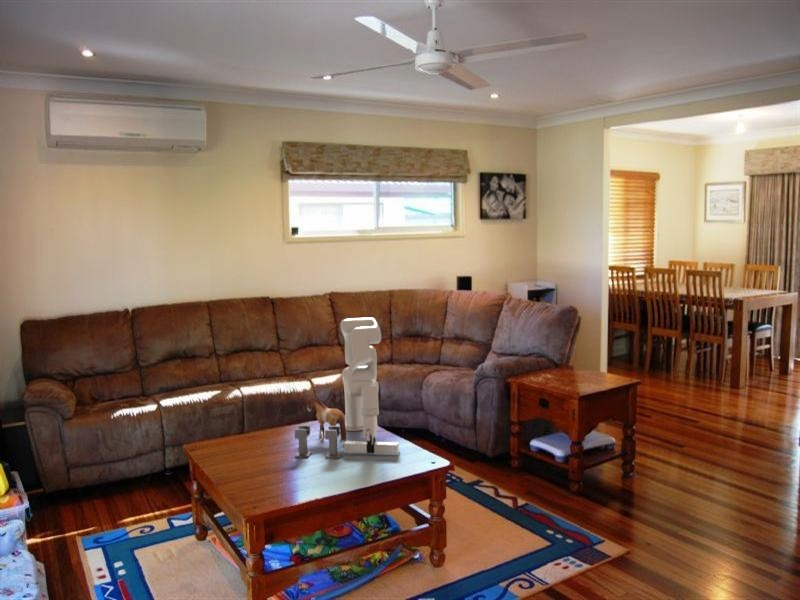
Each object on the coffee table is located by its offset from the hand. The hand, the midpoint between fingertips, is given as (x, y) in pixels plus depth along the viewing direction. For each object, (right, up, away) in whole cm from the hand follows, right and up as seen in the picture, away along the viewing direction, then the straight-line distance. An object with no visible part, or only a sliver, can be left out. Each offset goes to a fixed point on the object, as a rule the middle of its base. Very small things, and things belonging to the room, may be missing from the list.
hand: (371, 450), depth 300 cm
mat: (0, -2, 0) cm, 2 cm away
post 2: (-17, -3, +1) cm, 17 cm away
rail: (0, 0, 0) cm, 0 cm away
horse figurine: (-22, -1, +18) cm, 29 cm away
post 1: (-31, -3, +3) cm, 31 cm away
